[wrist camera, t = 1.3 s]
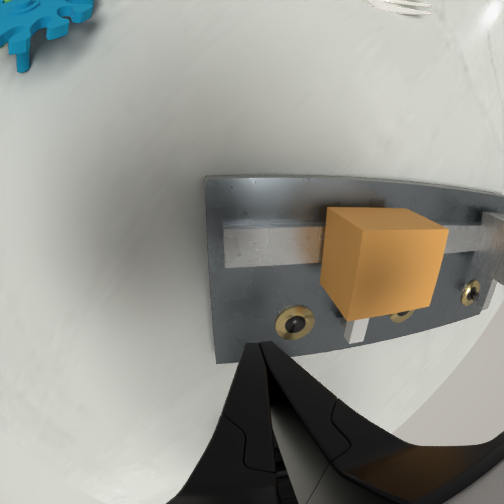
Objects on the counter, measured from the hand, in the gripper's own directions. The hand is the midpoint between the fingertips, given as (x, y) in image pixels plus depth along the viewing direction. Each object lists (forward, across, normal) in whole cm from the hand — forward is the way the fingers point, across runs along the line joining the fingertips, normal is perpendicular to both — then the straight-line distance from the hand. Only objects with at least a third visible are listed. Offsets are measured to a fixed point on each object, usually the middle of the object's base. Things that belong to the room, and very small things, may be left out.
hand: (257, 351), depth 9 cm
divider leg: (+9, -9, +2) cm, 13 cm away
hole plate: (+11, -14, +3) cm, 18 cm away
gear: (+12, +14, -17) cm, 25 cm away
